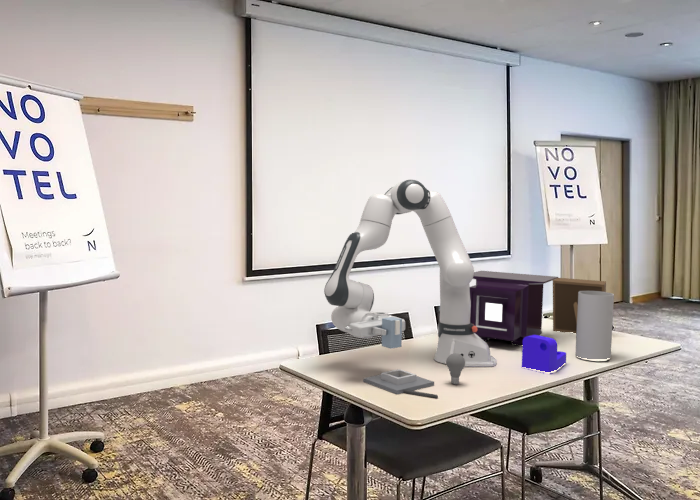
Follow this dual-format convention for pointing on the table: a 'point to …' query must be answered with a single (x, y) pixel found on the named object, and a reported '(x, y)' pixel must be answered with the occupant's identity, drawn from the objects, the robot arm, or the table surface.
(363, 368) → the table surface
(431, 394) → the rod
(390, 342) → the plug block
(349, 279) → the robot arm
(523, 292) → the dark purple stove
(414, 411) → the table surface
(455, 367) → the light bulb
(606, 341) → the cylinder vase
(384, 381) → the board
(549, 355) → the bracket
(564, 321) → the photo frame
